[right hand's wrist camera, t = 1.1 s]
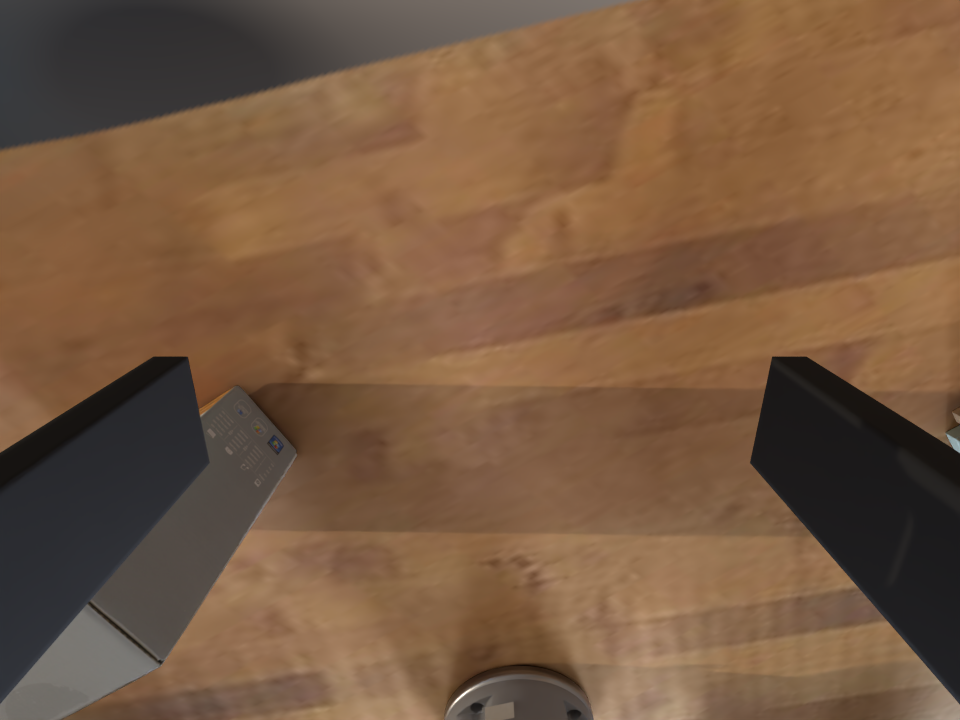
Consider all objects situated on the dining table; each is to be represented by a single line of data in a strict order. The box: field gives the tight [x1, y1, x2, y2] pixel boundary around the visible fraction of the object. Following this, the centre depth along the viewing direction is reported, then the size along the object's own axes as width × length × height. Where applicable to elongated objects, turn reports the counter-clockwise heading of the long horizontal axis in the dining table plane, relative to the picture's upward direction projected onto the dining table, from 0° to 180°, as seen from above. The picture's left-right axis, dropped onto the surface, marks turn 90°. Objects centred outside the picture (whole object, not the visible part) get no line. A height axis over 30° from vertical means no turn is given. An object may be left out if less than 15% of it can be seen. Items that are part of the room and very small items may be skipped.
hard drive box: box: [0, 386, 297, 720], centre depth 35 cm, size 16×8×20 cm, turn 123°
